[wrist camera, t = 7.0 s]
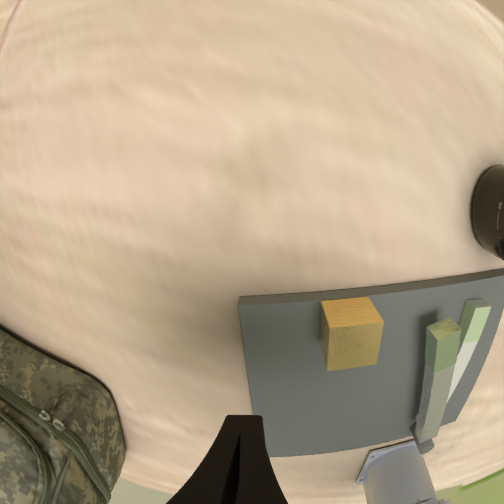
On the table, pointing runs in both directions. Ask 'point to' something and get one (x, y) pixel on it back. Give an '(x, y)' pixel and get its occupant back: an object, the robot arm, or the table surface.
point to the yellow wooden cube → (350, 333)
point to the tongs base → (367, 377)
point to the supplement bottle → (490, 211)
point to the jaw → (437, 376)
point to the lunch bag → (54, 431)
